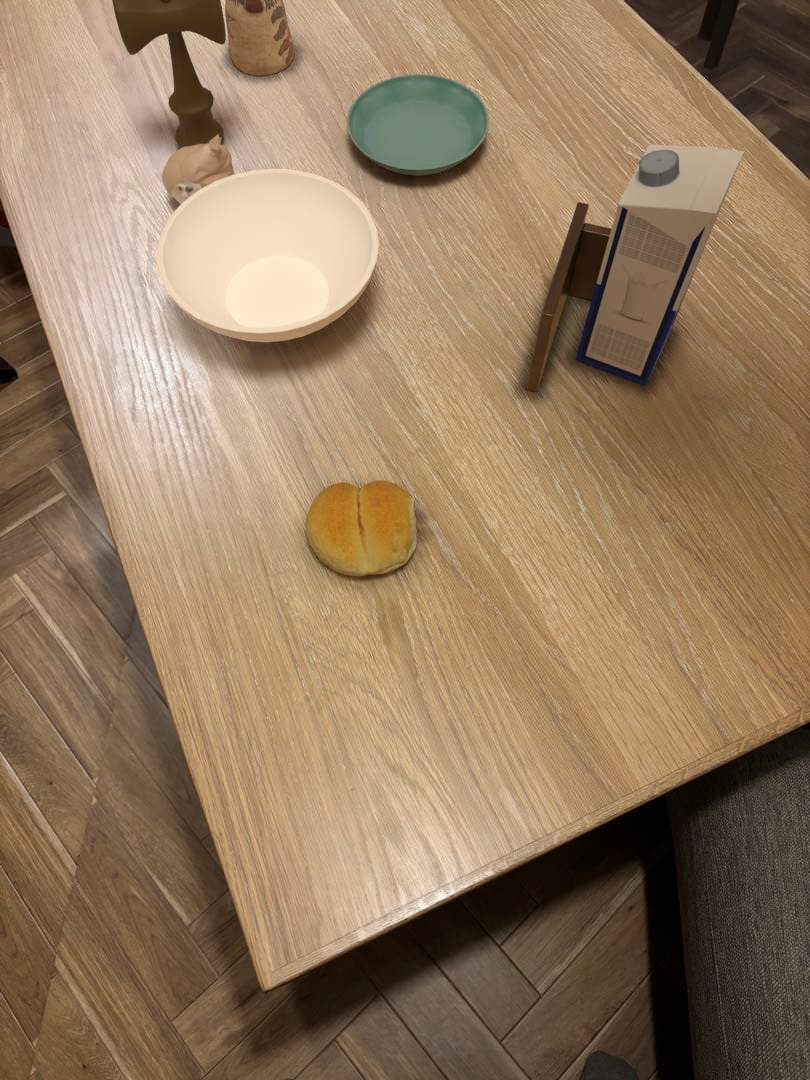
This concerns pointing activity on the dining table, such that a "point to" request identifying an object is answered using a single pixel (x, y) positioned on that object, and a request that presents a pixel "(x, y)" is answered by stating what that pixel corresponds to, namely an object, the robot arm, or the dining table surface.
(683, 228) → the milk carton
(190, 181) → the garlic bulb
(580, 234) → the shelf
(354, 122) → the saucer
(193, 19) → the kendama
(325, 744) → the dining table surface
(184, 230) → the bowl
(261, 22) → the figurine
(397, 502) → the bread roll
